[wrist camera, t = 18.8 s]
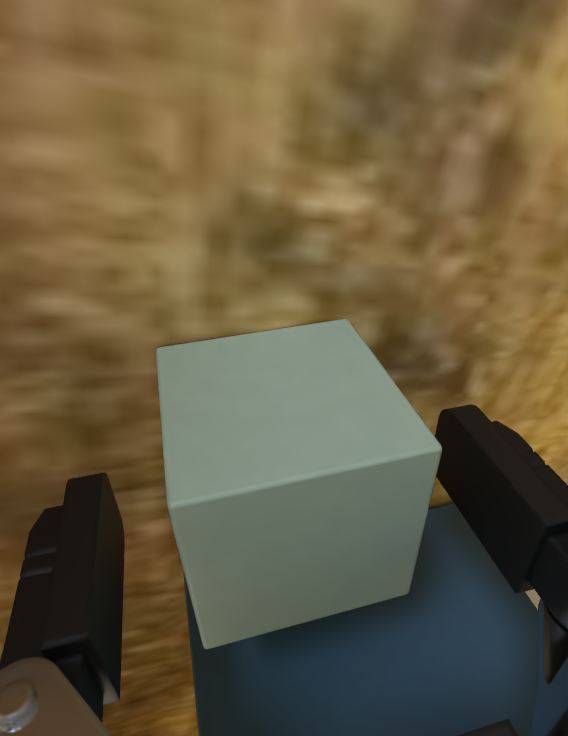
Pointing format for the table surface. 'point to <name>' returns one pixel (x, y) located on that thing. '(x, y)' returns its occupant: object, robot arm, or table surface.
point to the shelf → (385, 657)
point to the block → (290, 477)
